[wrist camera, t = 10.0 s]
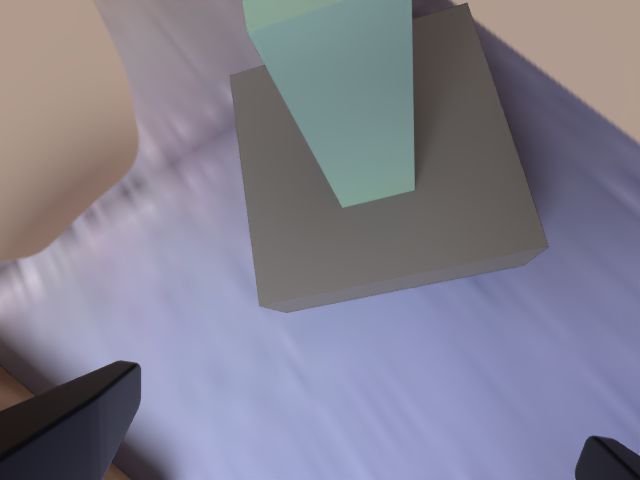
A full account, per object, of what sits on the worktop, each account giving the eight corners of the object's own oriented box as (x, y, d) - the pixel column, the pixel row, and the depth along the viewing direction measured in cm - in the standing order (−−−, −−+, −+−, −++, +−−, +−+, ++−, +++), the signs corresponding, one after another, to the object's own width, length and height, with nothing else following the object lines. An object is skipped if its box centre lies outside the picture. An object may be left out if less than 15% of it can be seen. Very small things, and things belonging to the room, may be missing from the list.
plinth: (523, 265, 20) (548, 246, 16) (286, 312, 22) (259, 306, 18) (459, 58, 23) (467, 2, 20) (257, 115, 25) (229, 75, 22)
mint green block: (414, 190, 18) (411, -22, 8) (342, 207, 19) (246, 32, 8) (389, 91, 19) (357, -202, 9) (322, 110, 20) (220, -146, 10)
